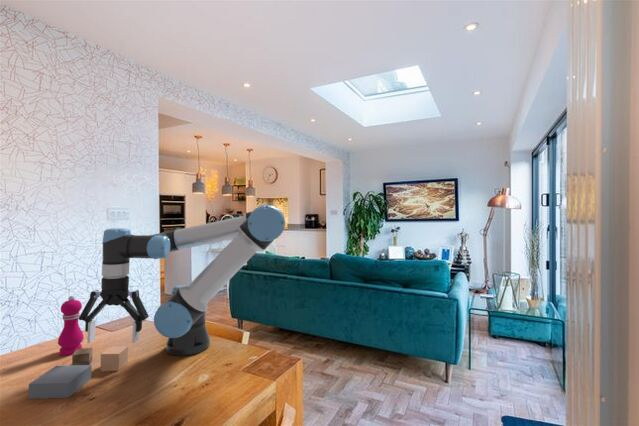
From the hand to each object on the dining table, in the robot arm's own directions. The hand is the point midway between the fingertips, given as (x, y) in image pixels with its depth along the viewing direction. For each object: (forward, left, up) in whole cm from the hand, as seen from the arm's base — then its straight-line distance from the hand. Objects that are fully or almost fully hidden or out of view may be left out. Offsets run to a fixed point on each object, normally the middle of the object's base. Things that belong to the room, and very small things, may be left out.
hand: (113, 341), depth 103 cm
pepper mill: (+21, -12, -8) cm, 25 cm away
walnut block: (+11, -2, -8) cm, 14 cm away
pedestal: (+8, +12, -8) cm, 16 cm away
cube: (0, 0, -8) cm, 8 cm away
